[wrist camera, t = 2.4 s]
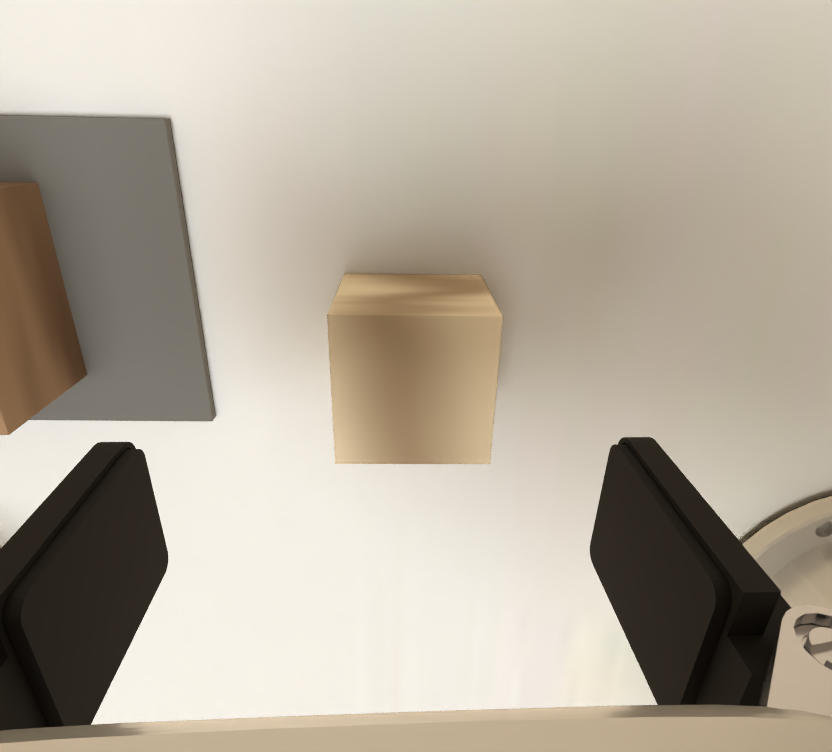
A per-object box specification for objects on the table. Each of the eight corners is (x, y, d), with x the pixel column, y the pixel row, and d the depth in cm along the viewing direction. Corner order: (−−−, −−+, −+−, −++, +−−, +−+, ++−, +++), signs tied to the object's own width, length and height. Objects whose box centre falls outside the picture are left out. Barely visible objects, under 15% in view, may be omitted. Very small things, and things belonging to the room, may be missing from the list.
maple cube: (480, 274, 20) (502, 316, 15) (471, 395, 22) (490, 464, 17) (345, 272, 20) (327, 314, 15) (349, 394, 22) (335, 463, 17)
